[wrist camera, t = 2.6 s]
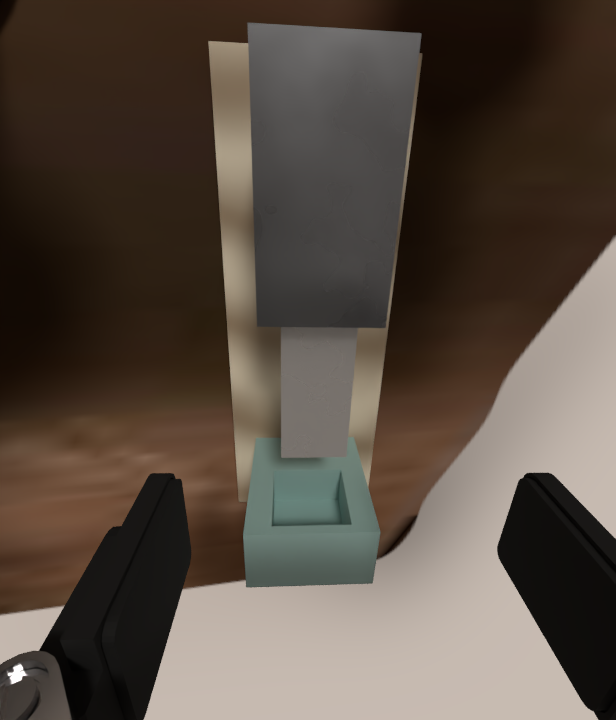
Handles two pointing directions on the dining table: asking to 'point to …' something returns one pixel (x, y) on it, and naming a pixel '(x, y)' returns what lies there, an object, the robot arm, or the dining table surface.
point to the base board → (247, 341)
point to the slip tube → (316, 390)
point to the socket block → (308, 520)
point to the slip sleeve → (327, 170)
